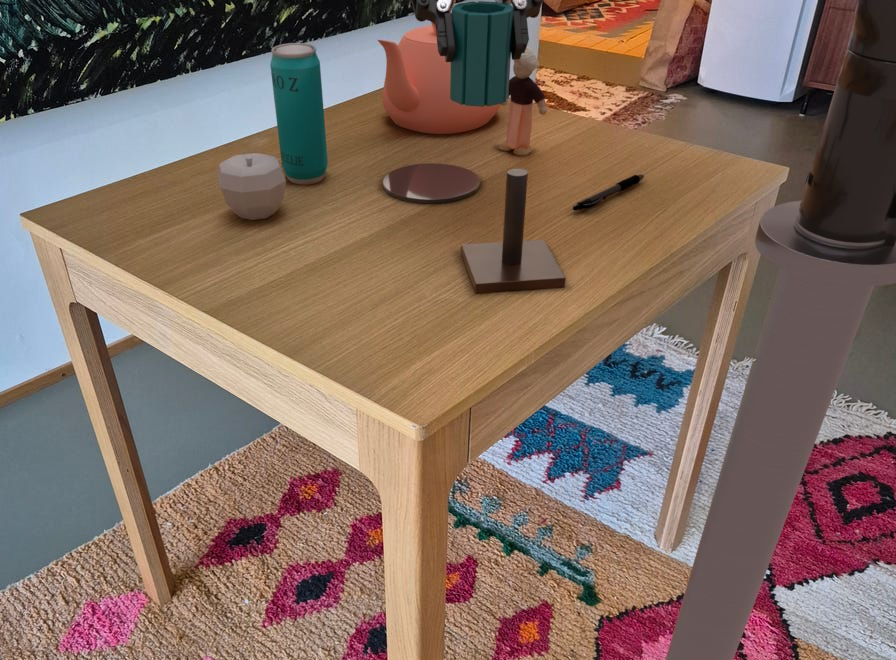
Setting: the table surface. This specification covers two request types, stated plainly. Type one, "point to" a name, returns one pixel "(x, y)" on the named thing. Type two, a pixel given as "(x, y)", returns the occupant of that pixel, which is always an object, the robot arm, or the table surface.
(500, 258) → the holder
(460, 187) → the slate coaster
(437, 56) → the teapot
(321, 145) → the beverage can
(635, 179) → the pen
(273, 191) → the apple
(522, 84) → the grandmother figurine
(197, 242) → the table surface
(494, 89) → the teal octagonal tube
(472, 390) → the table surface
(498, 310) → the table surface
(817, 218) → the robot arm
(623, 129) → the table surface
